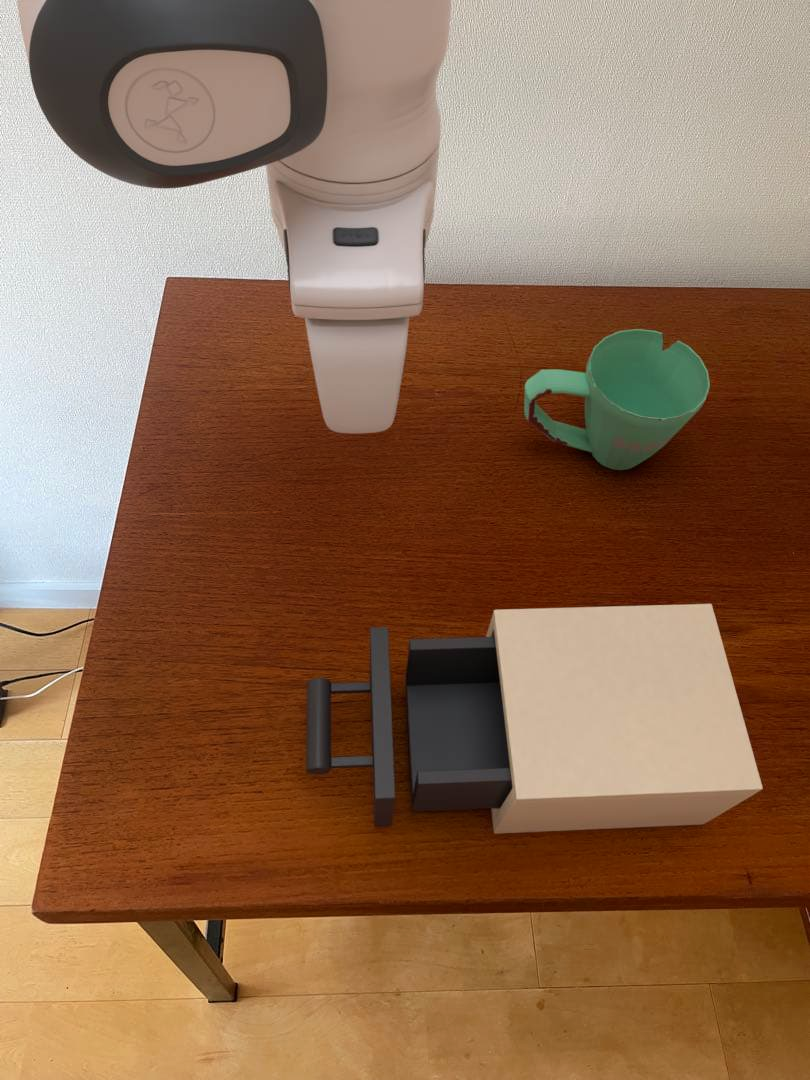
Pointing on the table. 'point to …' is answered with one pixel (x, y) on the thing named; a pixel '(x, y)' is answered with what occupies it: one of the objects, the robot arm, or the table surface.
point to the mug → (624, 397)
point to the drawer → (425, 726)
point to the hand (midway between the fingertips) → (355, 367)
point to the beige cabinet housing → (618, 718)
